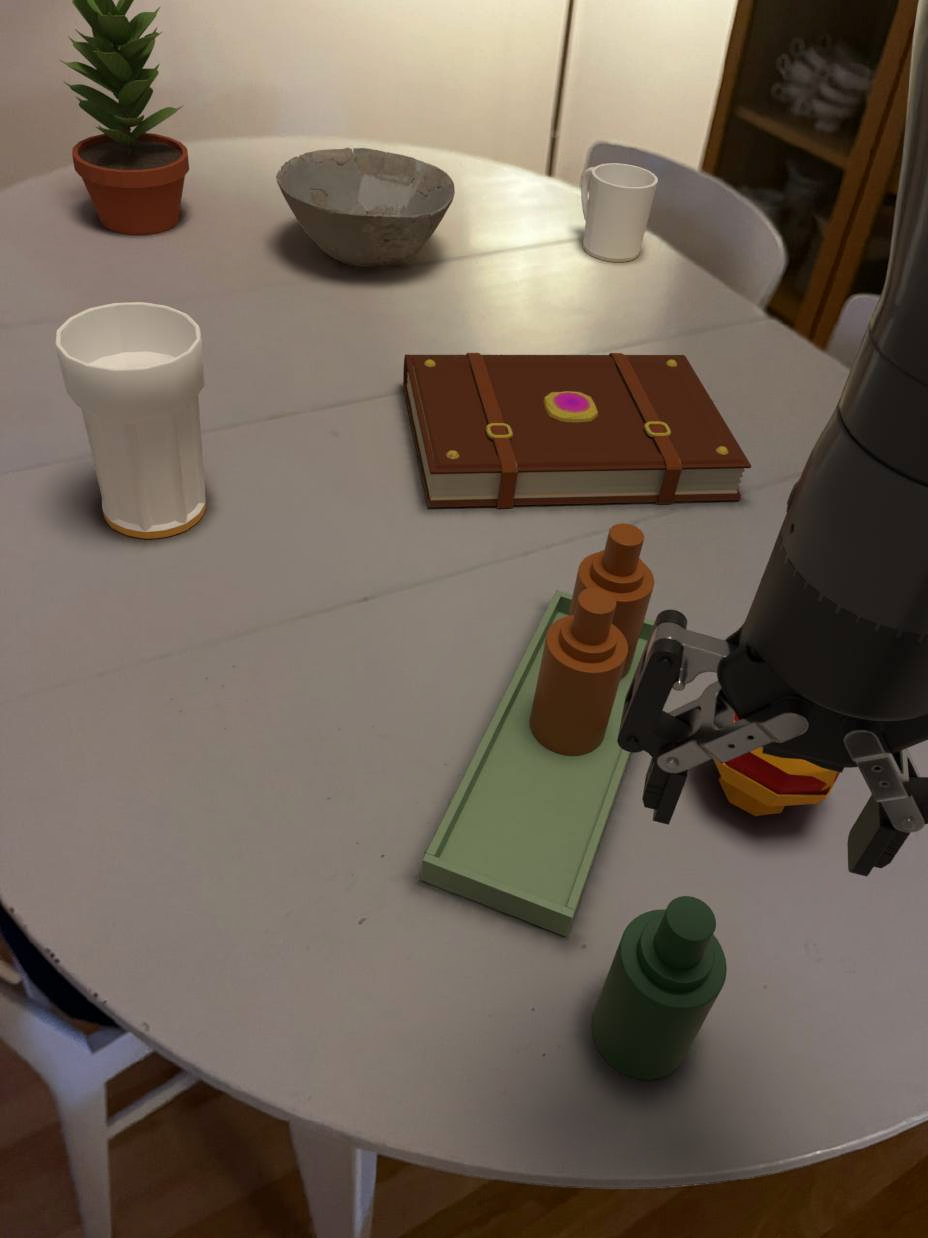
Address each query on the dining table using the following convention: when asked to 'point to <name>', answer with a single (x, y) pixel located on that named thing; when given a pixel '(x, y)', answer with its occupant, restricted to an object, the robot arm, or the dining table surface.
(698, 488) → the book
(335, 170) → the ceramic bowl
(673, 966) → the green bottle
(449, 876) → the tray
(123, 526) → the cup
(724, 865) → the dining table surface
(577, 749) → the amber bottle mid
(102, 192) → the potted plant
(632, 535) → the amber bottle far
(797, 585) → the robot arm
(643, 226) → the mug
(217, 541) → the dining table surface
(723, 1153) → the dining table surface
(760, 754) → the potion bottle
